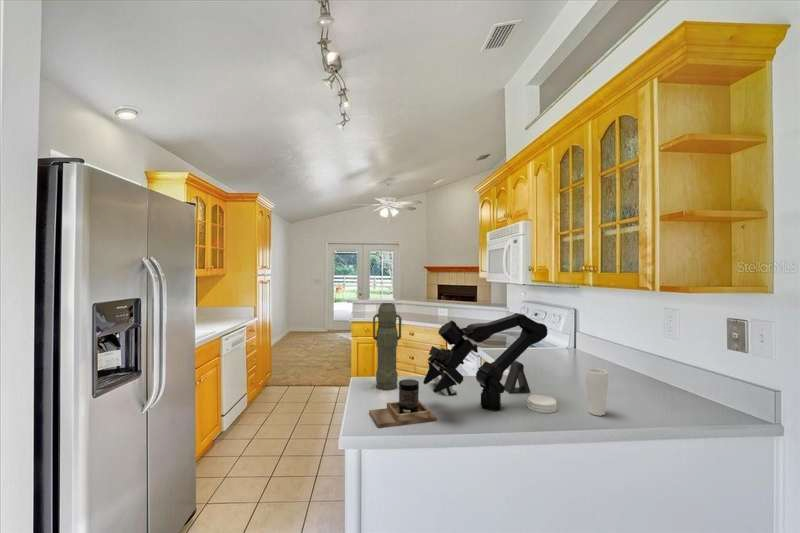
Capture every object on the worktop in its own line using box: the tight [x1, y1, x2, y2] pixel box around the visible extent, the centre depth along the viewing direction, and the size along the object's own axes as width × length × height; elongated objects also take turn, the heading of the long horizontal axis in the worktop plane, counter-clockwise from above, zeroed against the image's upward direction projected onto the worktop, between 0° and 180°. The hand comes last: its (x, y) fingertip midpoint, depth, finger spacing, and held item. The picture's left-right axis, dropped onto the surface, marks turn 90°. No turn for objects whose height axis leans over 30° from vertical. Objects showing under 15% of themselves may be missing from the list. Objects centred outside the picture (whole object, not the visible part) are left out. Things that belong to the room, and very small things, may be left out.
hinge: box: [433, 371, 458, 397], centre depth 160 cm, size 17×5×10 cm, turn 10°
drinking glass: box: [586, 367, 609, 417], centre depth 135 cm, size 7×7×15 cm
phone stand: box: [503, 359, 531, 395], centre depth 159 cm, size 9×6×12 cm, turn 99°
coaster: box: [526, 394, 558, 414], centre depth 140 cm, size 10×10×4 cm
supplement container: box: [398, 378, 420, 414], centre depth 131 cm, size 7×7×10 cm
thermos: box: [372, 302, 403, 391], centre depth 162 cm, size 9×12×35 cm
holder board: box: [368, 400, 438, 429], centre depth 131 cm, size 20×12×3 cm, turn 108°
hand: (428, 387), depth 134 cm, fingers open, 9 cm apart
